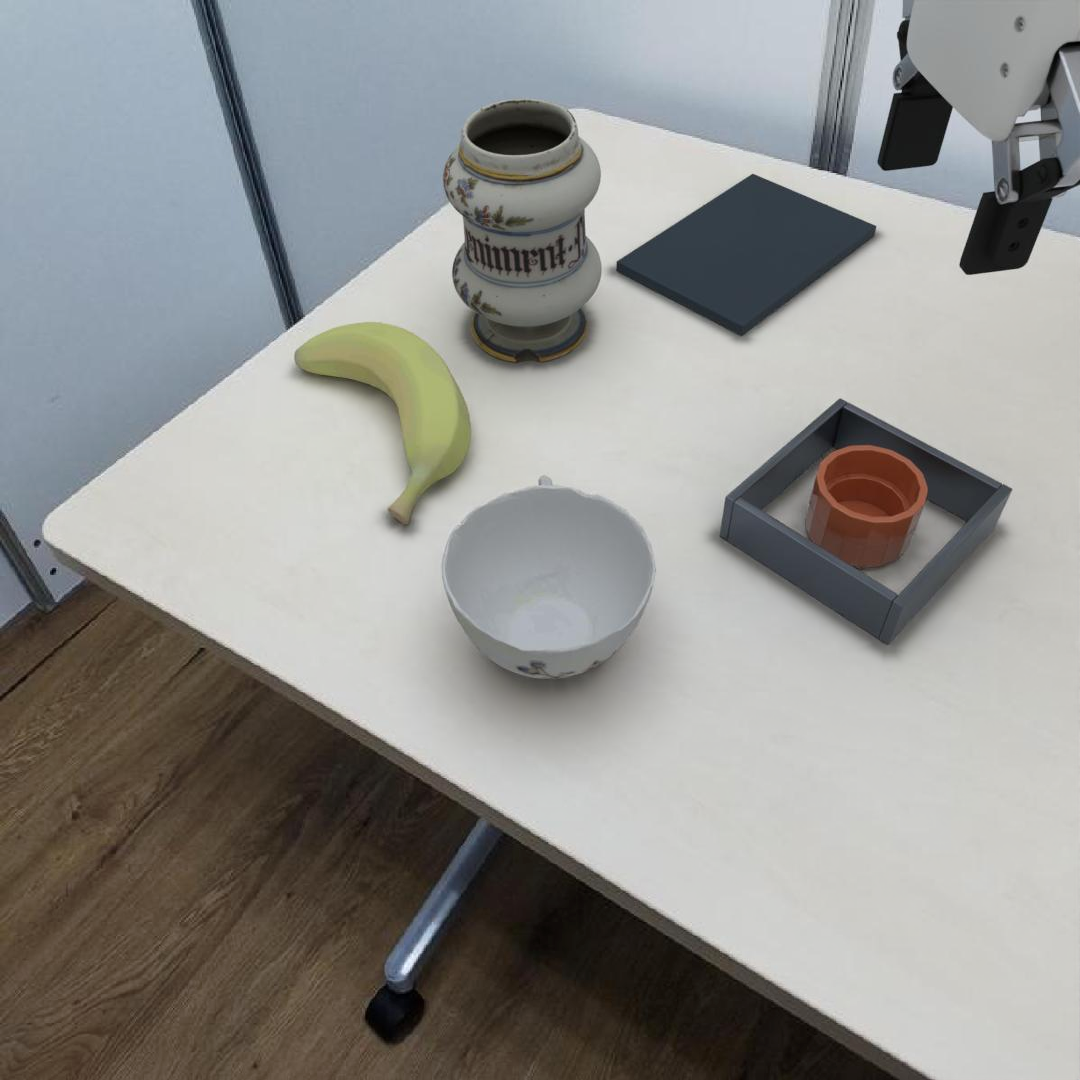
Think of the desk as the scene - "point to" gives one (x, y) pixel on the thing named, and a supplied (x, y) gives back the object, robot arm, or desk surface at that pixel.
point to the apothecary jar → (524, 228)
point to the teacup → (548, 579)
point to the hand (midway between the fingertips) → (946, 214)
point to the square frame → (828, 573)
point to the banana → (401, 395)
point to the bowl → (866, 505)
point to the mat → (746, 252)
